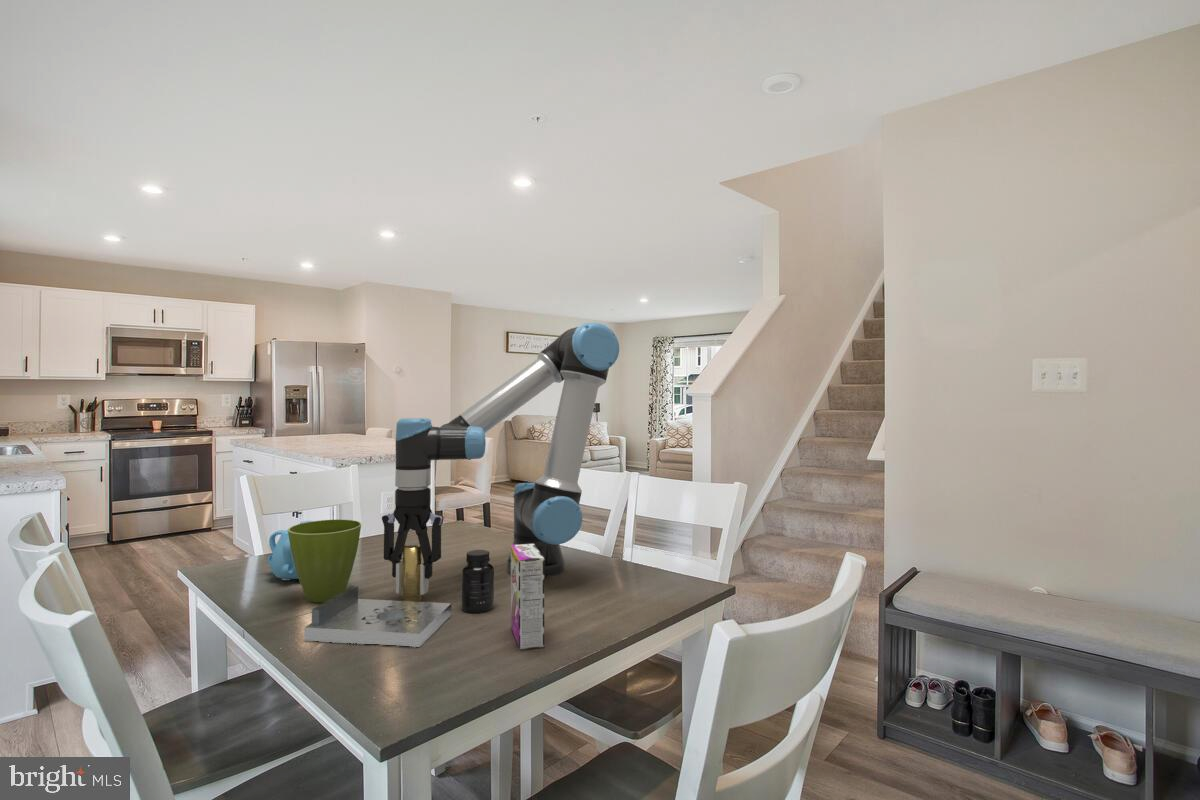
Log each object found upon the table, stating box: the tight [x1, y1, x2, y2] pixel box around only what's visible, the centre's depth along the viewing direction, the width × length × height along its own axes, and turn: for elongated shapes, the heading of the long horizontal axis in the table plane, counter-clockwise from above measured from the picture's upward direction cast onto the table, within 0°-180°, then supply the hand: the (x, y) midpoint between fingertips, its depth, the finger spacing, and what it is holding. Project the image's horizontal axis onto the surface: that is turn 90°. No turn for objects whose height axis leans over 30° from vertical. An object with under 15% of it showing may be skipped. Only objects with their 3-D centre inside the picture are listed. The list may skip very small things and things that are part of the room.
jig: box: [303, 585, 452, 648], centre depth 115 cm, size 22×16×6 cm
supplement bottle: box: [461, 549, 495, 614], centre depth 126 cm, size 7×7×12 cm
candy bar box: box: [510, 544, 545, 651], centre depth 111 cm, size 11×5×16 cm, turn 17°
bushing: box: [402, 543, 423, 602], centre depth 131 cm, size 4×4×12 cm
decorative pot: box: [267, 520, 313, 580], centre depth 149 cm, size 16×16×14 cm
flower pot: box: [287, 519, 362, 603], centre depth 132 cm, size 15×15×16 cm
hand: (412, 591), depth 131 cm, fingers open, 5 cm apart
